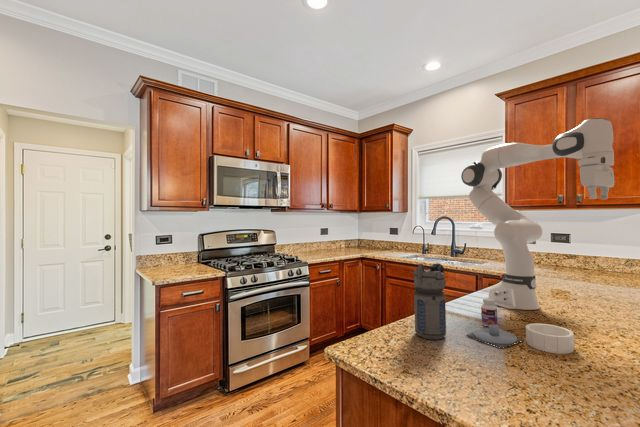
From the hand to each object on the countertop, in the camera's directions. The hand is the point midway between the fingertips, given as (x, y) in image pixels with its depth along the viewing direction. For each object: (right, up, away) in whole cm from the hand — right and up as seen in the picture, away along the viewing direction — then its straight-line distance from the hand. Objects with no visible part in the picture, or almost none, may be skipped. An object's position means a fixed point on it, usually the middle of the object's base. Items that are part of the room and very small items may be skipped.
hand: (598, 199), depth 116 cm
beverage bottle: (-64, -48, -7) cm, 80 cm away
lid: (-45, -47, -11) cm, 66 cm away
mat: (-45, -47, -11) cm, 66 cm away
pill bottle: (-39, -48, +2) cm, 62 cm away
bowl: (-31, -47, -18) cm, 59 cm away
